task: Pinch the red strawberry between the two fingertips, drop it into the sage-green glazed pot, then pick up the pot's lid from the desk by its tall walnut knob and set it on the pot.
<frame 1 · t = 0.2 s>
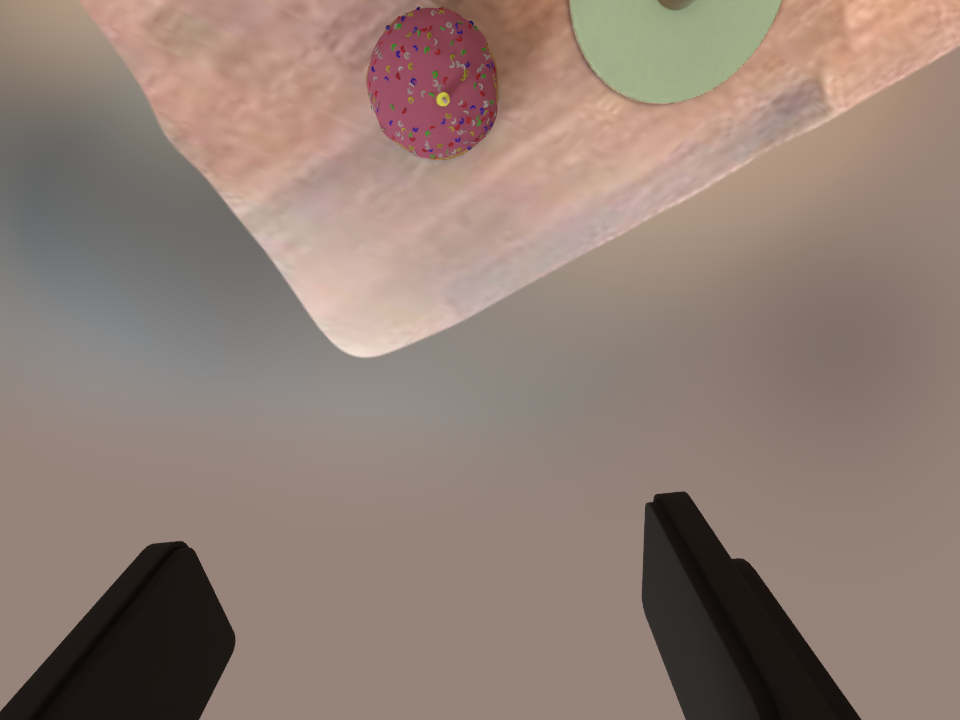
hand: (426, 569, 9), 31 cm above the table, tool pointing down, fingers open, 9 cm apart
sprinkled cake with candle: (439, 100, 33), on the table
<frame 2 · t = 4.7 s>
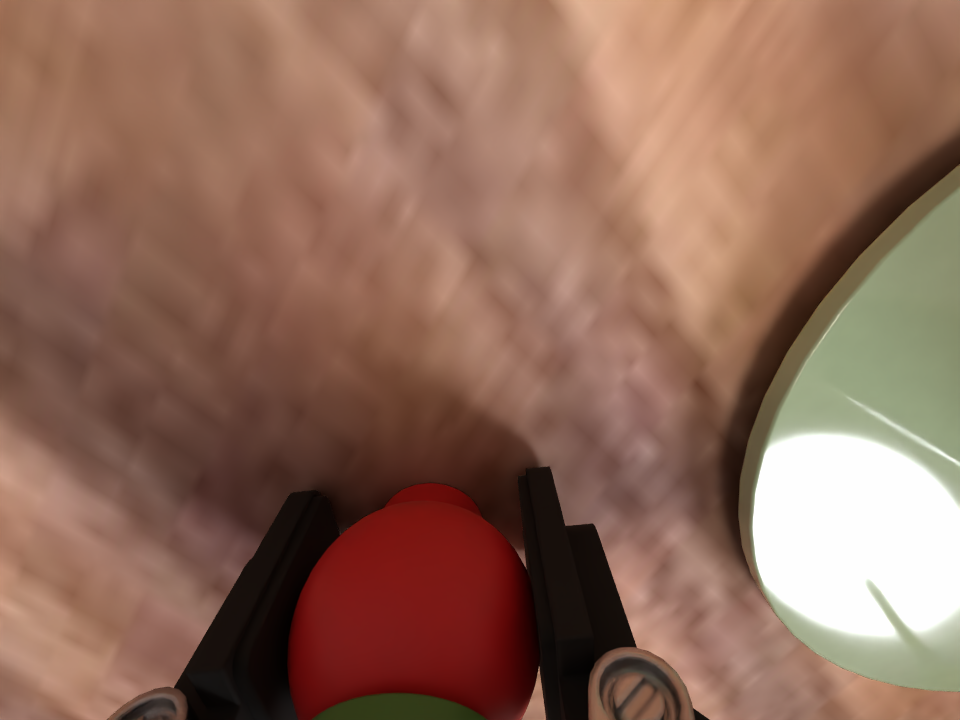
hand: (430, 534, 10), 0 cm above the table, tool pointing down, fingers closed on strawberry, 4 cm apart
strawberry: (432, 523, 10), on the table, touching gripper
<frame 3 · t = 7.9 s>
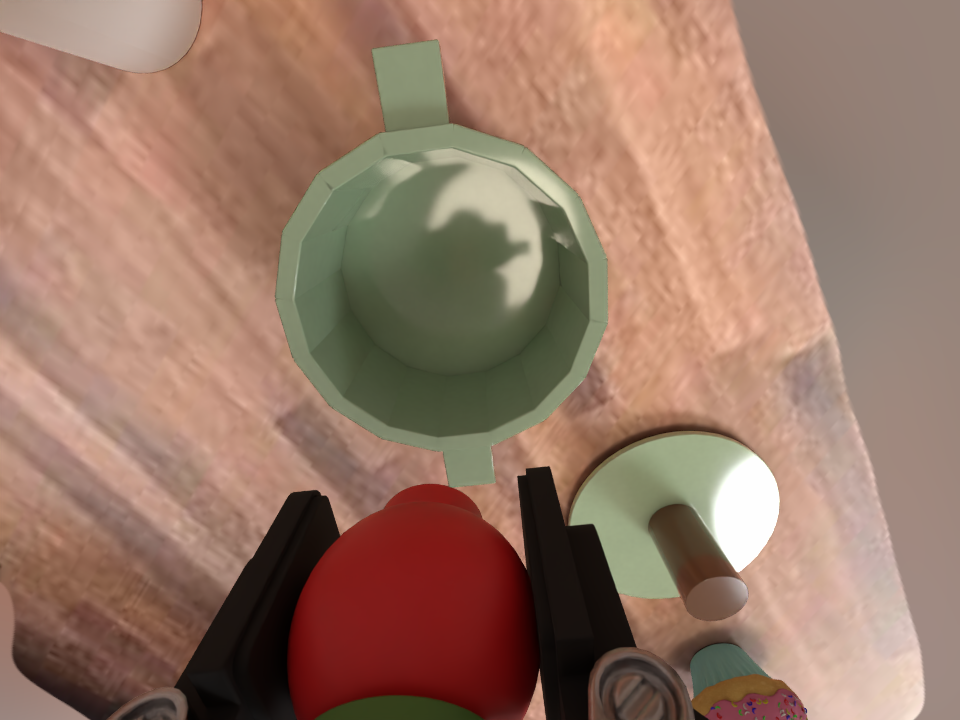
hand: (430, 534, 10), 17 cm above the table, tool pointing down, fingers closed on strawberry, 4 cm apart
lid: (670, 519, 31), point 1 cm above the table
pot: (451, 274, 25), on the table
sprinkled cake with candle: (715, 659, 38), on the table
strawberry: (432, 524, 10), point 17 cm above the table, touching gripper
when the fingers open (5 cm above the table, at t = 11.7 s): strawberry stays where it is, resting on pot.
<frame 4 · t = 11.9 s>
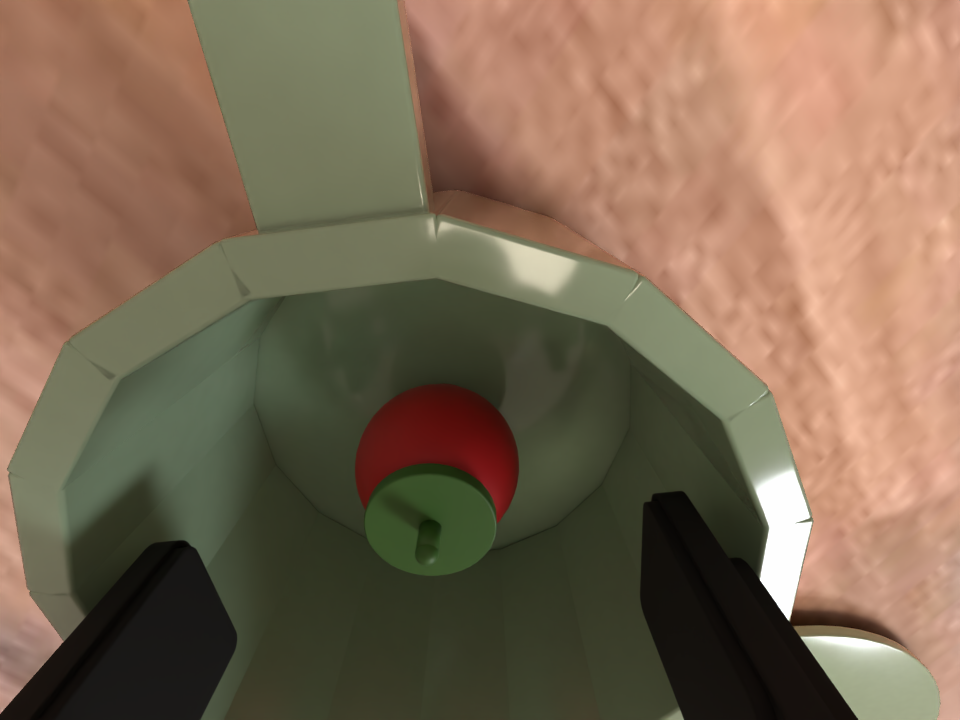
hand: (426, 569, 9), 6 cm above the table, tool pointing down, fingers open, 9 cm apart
pot: (445, 407, 15), on the table
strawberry: (444, 415, 14), resting on pot
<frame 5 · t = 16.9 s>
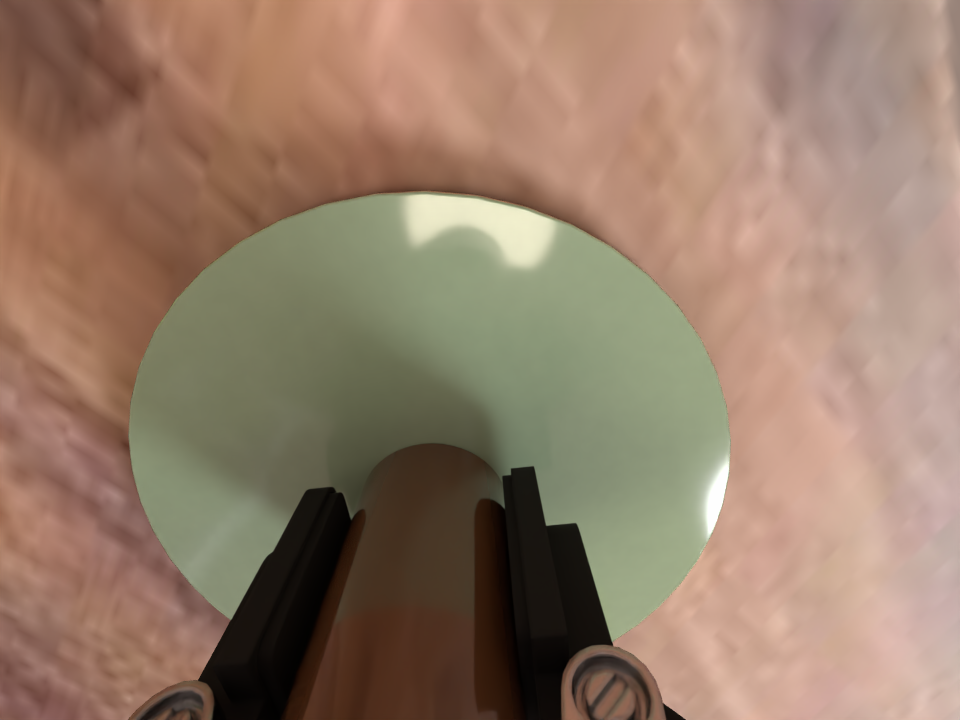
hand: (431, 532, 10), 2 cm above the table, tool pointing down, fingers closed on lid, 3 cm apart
lid: (436, 490, 12), point 1 cm above the table, touching gripper
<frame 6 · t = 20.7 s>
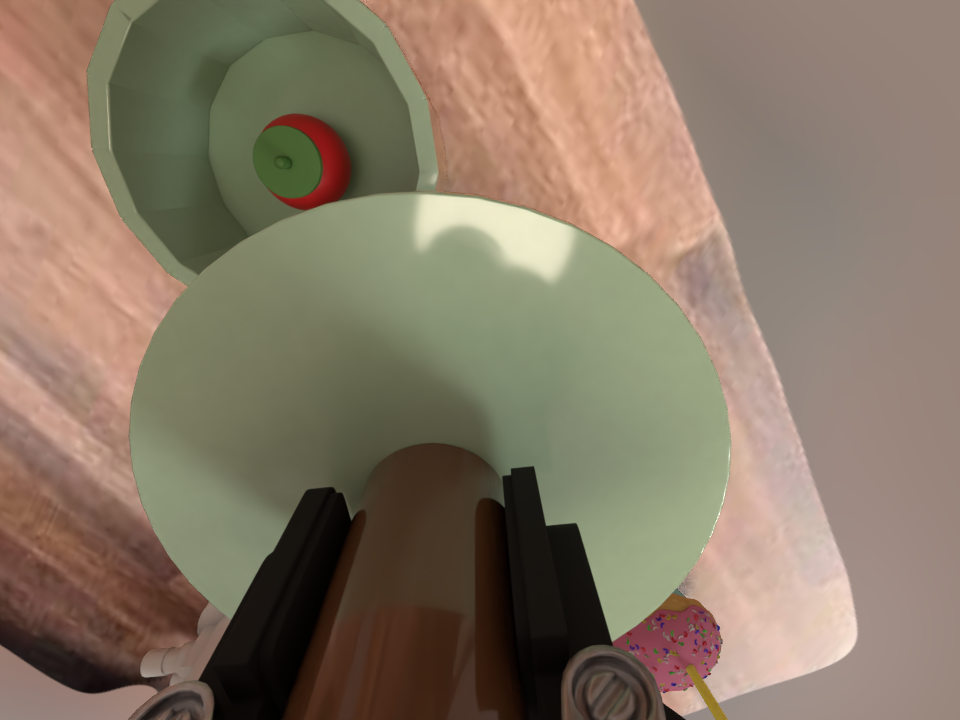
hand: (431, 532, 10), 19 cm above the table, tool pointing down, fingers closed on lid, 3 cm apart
lid: (436, 490, 12), point 18 cm above the table, touching gripper
pot: (324, 165, 25), on the table
sprinkled cake with candle: (641, 588, 38), on the table
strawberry: (321, 165, 24), resting on pot
when the fingers open (9 cm above the table, at t = 24.5 s): lid stays where it is, resting on pot.
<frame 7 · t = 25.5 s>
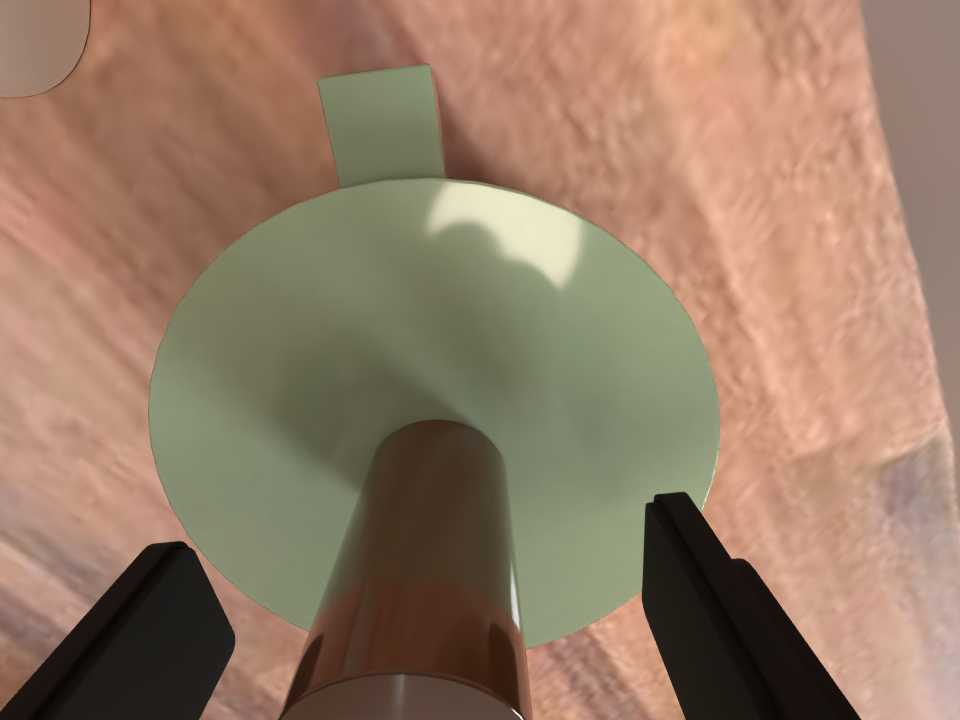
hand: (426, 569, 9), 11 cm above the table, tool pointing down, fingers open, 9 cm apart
lid: (439, 466, 12), point 7 cm above the table, touching pot
pot: (452, 362, 19), on the table
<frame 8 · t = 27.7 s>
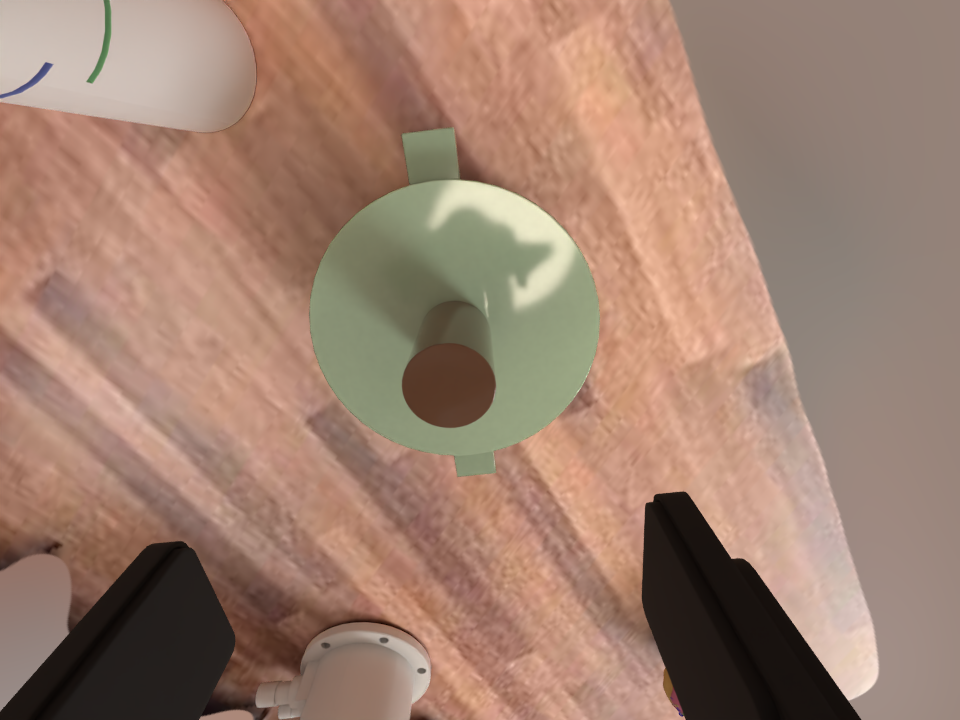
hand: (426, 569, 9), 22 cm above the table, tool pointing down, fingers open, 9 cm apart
lid: (455, 331, 23), point 7 cm above the table, touching pot
pot: (459, 296, 30), on the table
sprinkled cake with candle: (691, 633, 43), on the table
cylindrical container: (192, 61, 25), on the table
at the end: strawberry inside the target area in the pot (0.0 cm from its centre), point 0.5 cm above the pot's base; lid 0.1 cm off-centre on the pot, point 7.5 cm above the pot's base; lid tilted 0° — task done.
